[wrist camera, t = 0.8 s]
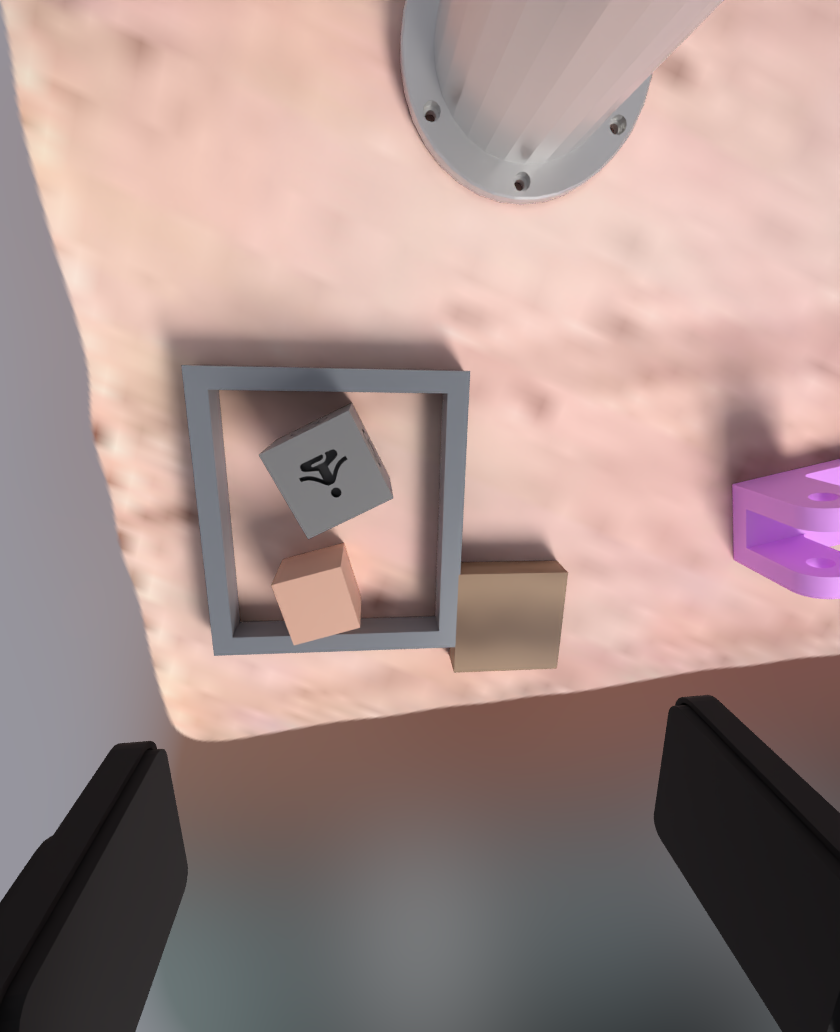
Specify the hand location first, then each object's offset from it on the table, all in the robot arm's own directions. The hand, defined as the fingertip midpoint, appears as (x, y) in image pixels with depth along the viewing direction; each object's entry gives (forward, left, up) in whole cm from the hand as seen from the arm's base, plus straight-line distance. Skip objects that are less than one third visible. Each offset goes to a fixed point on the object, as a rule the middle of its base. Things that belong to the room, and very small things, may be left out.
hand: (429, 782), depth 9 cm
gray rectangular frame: (+2, -3, -23) cm, 23 cm away
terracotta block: (+6, -4, -23) cm, 24 cm away
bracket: (+1, +30, -23) cm, 38 cm away
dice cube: (-2, -3, -23) cm, 24 cm away
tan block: (+9, +8, -23) cm, 26 cm away
